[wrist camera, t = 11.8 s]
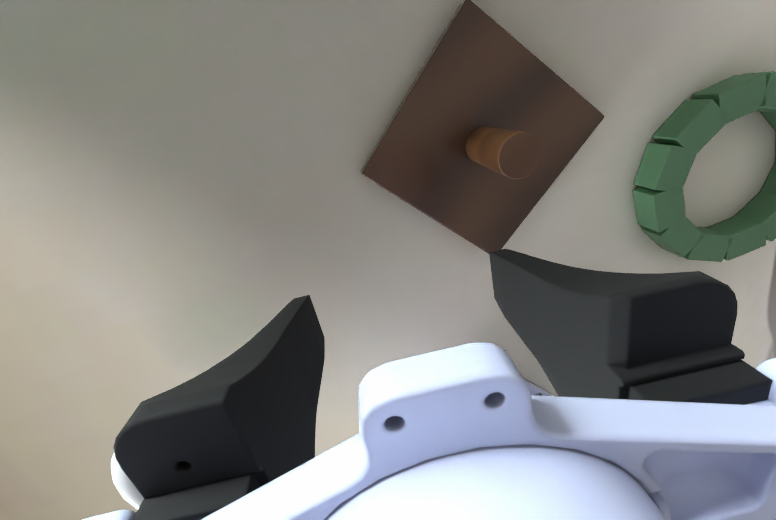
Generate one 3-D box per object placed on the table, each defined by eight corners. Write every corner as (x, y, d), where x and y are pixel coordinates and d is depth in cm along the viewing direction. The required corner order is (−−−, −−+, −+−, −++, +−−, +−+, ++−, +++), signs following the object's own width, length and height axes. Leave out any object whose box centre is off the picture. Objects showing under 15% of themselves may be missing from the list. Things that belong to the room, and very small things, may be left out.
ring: (781, 27, 20) (819, 20, 19) (822, 182, 24) (856, 188, 23) (603, 160, 22) (623, 164, 21) (668, 282, 26) (689, 294, 25)
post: (594, 115, 21) (679, 118, 16) (489, 251, 24) (529, 294, 19) (461, 2, 18) (507, -43, 13) (360, 171, 21) (362, 193, 16)
